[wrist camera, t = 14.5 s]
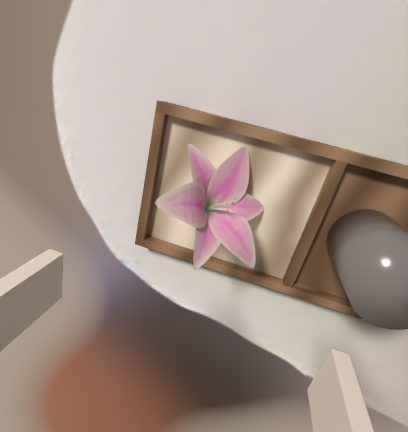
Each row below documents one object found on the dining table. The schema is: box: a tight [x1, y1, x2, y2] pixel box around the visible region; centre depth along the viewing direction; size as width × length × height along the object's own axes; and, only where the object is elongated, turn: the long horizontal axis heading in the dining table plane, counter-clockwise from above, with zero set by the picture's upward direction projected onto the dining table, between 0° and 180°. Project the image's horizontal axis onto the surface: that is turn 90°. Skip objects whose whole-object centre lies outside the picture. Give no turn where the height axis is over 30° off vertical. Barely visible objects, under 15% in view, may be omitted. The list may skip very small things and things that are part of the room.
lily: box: [155, 143, 264, 269], centre depth 27 cm, size 12×12×10 cm
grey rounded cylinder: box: [326, 209, 408, 330], centre depth 25 cm, size 7×7×9 cm
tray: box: [135, 101, 408, 319], centre depth 30 cm, size 30×16×2 cm, turn 76°
